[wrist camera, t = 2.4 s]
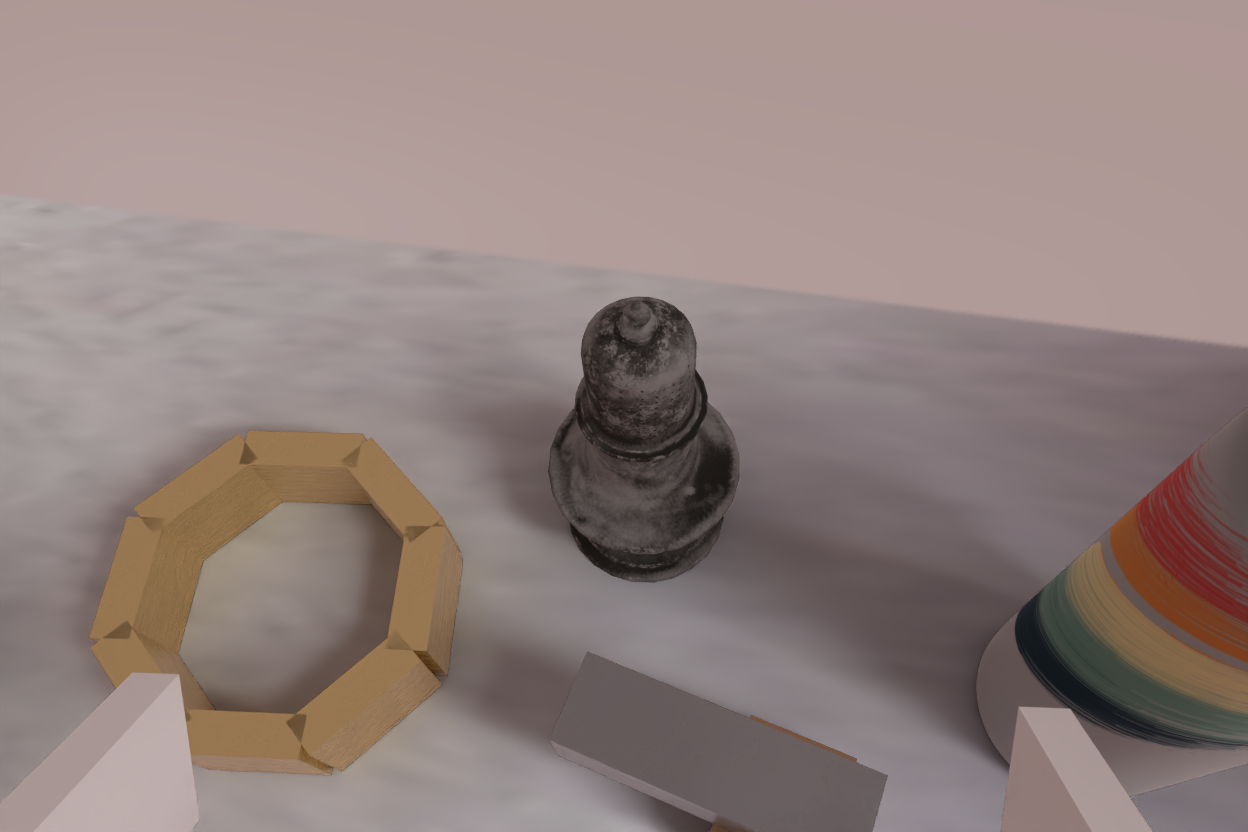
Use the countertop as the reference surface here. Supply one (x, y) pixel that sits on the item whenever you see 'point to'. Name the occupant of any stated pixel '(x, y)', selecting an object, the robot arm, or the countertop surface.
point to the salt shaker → (643, 447)
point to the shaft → (710, 757)
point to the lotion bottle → (1144, 631)
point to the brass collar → (217, 512)
